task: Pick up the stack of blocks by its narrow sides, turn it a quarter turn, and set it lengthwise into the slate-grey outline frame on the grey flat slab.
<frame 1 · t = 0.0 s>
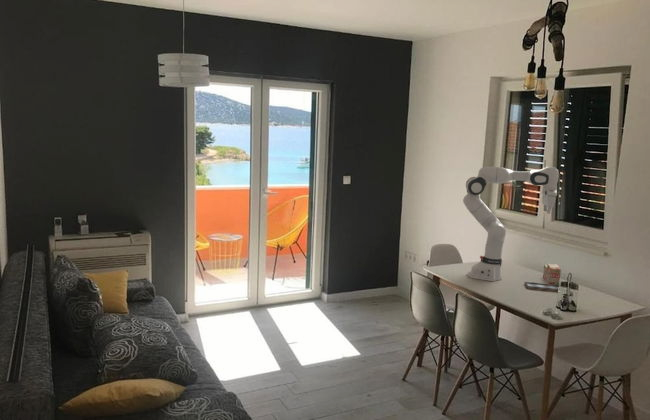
hand: (546, 212, 357), 48 cm above the table, tool pointing down, fingers open, 8 cm apart
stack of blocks: (550, 282, 369), on the table
grey flat slab: (545, 288, 352), on the table
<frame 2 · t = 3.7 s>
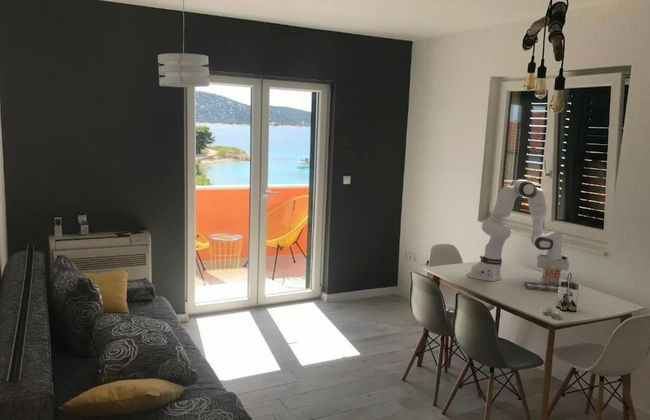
hand: (551, 275, 368), 5 cm above the table, tool pointing down, fingers closed on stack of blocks, 6 cm apart
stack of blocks: (550, 282, 369), on the table, touching gripper
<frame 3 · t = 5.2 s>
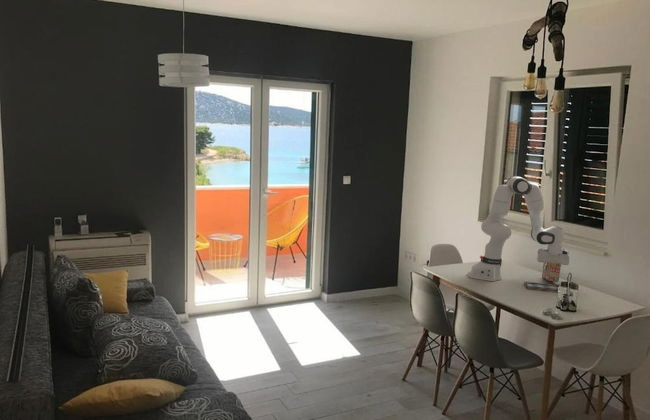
hand: (551, 269, 367), 8 cm above the table, tool pointing down, fingers closed on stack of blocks, 6 cm apart
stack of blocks: (549, 279, 368), point 2 cm above the table, touching gripper
when the fingers open (7 cm above the table, at t = 11.3 s): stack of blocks stays where it is, resting on grey flat slab.
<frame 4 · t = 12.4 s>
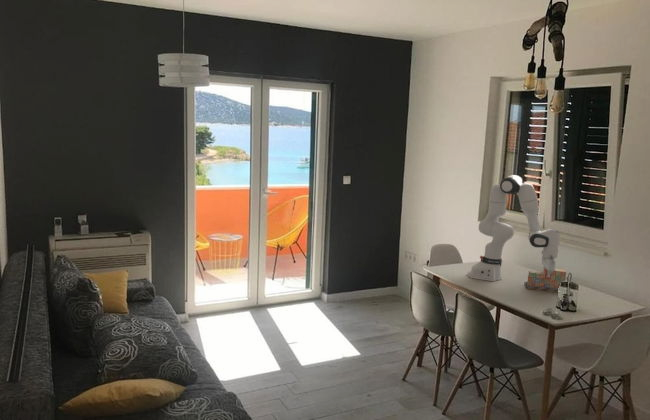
hand: (546, 275, 351), 9 cm above the table, tool pointing down, fingers open, 8 cm apart
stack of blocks: (545, 287, 352), point 1 cm above the table, touching grey flat slab
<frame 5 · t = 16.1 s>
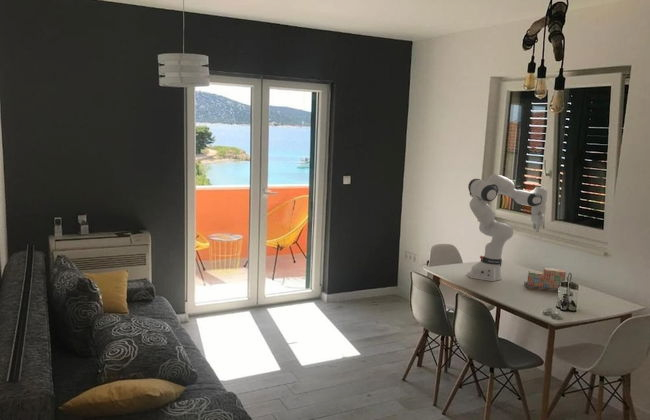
hand: (535, 230, 372), 33 cm above the table, tool pointing down, fingers open, 8 cm apart
at the end: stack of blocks 0.9 cm off-centre on the grey flat slab, point 0.9 cm above the grey flat slab's base; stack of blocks tilted 0°; the gripper is holding nothing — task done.
